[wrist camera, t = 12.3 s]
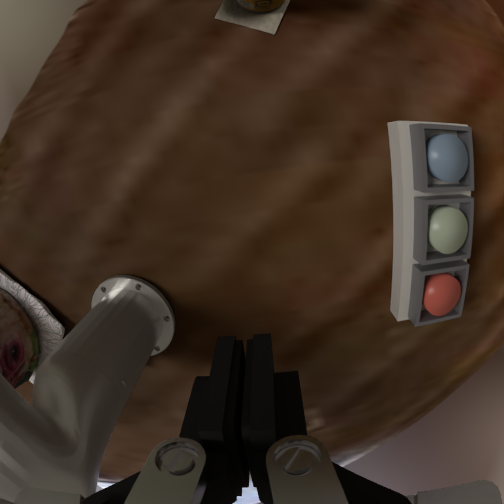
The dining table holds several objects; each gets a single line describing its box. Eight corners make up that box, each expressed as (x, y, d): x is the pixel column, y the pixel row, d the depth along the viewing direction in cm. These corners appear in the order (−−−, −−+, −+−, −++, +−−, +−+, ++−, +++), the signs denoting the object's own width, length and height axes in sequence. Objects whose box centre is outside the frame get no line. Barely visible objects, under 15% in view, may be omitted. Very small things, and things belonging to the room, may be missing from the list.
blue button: (459, 180, 29) (468, 182, 27) (423, 180, 29) (432, 183, 27) (457, 135, 27) (466, 135, 25) (420, 133, 27) (429, 133, 25)
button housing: (449, 298, 37) (468, 317, 32) (390, 310, 38) (404, 331, 33) (454, 125, 30) (479, 124, 25) (387, 122, 31) (407, 119, 25)
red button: (450, 304, 33) (457, 311, 32) (417, 311, 34) (423, 319, 32) (455, 267, 32) (463, 273, 30) (421, 273, 32) (428, 279, 30)
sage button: (457, 246, 31) (465, 251, 29) (423, 250, 31) (430, 256, 30) (459, 203, 29) (468, 207, 27) (424, 206, 30) (432, 209, 28)
